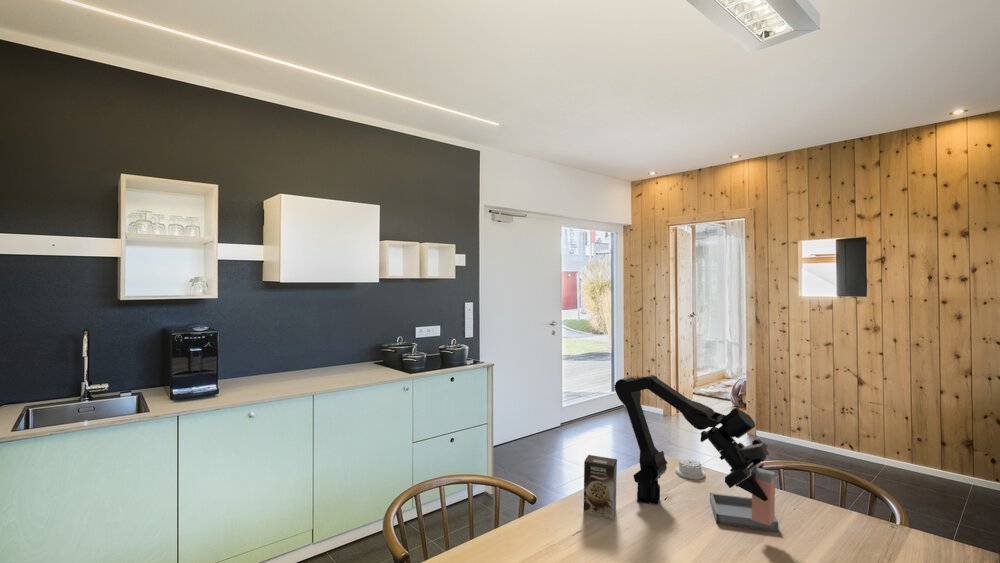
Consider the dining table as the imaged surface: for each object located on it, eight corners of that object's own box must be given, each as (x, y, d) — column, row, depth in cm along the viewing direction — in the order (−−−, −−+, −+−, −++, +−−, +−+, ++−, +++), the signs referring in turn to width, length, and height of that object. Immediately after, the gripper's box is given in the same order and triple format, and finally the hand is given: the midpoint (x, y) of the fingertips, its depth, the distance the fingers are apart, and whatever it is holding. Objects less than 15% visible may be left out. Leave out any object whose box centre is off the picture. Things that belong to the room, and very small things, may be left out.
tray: (716, 523, 140) (716, 513, 140) (709, 501, 153) (709, 492, 153) (778, 532, 135) (778, 522, 135) (765, 508, 149) (765, 499, 149)
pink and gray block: (751, 519, 132) (752, 472, 131) (756, 513, 135) (757, 467, 135) (769, 525, 129) (770, 477, 128) (774, 519, 132) (775, 472, 132)
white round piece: (709, 481, 169) (700, 469, 179) (709, 468, 169) (700, 457, 179) (679, 479, 170) (672, 468, 180) (679, 467, 170) (672, 456, 180)
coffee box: (582, 514, 145) (583, 461, 145) (587, 504, 151) (587, 453, 151) (613, 520, 141) (613, 465, 141) (616, 510, 147) (617, 458, 147)
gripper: (738, 439, 127) (784, 494, 120) (758, 423, 141) (801, 472, 134) (707, 461, 133) (749, 514, 126) (729, 443, 146) (769, 491, 139)
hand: (769, 497), depth 131 cm, fingers closed on pink and gray block, 4 cm apart
